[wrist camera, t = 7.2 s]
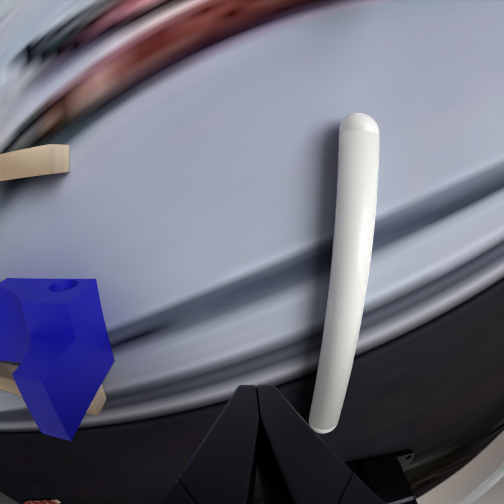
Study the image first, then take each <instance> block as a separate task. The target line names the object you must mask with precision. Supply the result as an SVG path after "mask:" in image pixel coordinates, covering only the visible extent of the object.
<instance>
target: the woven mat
mask: <svg viewBox="0 0 504 504" xmlns="http://www.w3.org/2000/svg"><path fill="white" fill-rule="evenodd" d="M59 503H61V502H60V501H58V500H43V501H42V500H41V501H34V500H30V501H26V503H25V502H24V503H23V504H59Z"/></svg>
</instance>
